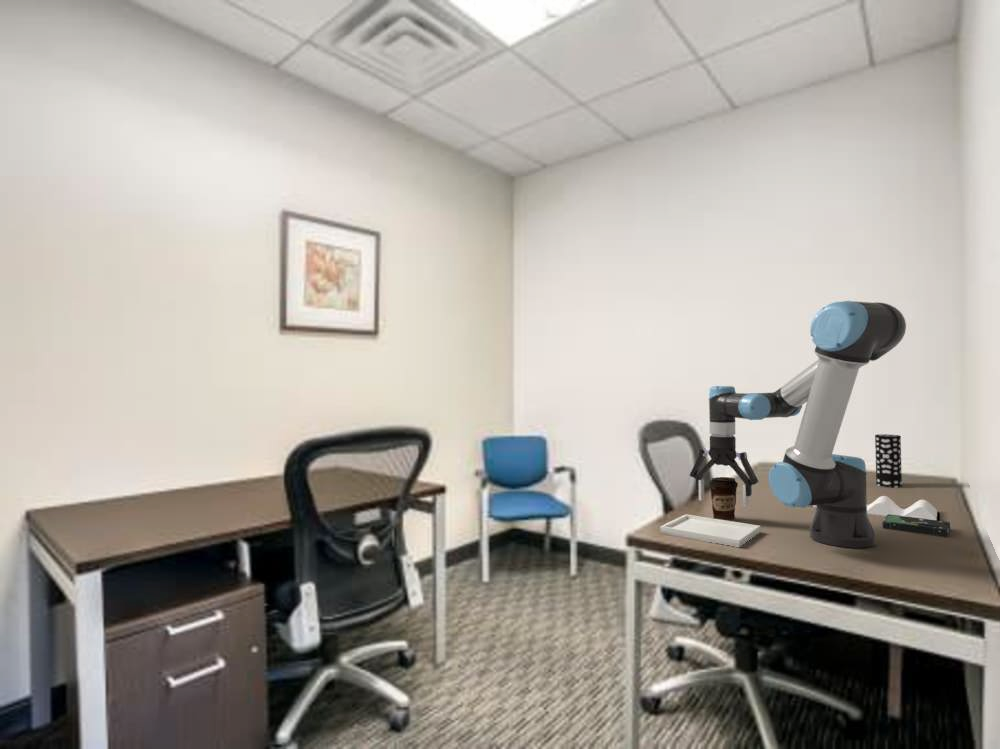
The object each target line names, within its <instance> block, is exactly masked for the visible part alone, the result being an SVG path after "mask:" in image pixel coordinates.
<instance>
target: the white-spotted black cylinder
mask: <svg viewBox="0 0 1000 749" xmlns="http://www.w3.org/2000/svg"><path fill="white" fill-rule="evenodd" d="M874 435H875V436H874V444H875V445H874V450H875V481H876V483H875V485H877V486H878V487H882V488H883V487H884V488H891V489H892V488H894V489H896V488H902V487H903V485H902V484H903V478H902V476H903V475H902V474H903V473H902V444H901V442H902V438H901V435H900V434H898V435H897V434H888V433H887V434H883V433H881V434H874Z"/></svg>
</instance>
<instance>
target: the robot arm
mask: <svg viewBox="0 0 1000 749" xmlns="http://www.w3.org/2000/svg"><path fill="white" fill-rule="evenodd" d="M906 330H907V323H906V319H905V316H904V315H903V313H902V312H901V311H900V310H899V309H898V308H896V307H895V306H893V305H891V304H889V303H886V302H871V301H870V302H869V301H868V302H867V301H855V300H854V301H852V300H851V301H850V300H844V301H835V302H831V303H829V304H827V305H825V306H824V307H822V308H820V310H818V312H817V313H816V314H815V316H814V317H813V319H812V321H811V325H810V330H809V332H810V337H811V338H812V340H811V341H812V342H813V344H814V345H815V348H814V353H815V355H816V356H817V358H818V359H817V360H816V361H814V362H813V363H812V364H810V365H809V366H807V367H806V368H805V369H804V370H802V371H801V372H800V373H798V374H796V376H794V377H793V378H791V379H790V380H789V381H788V382H787V383H785V384H784V385H782V386H781V387H780V388H778V389H777V390H775V391H773V392H754V393H748V392H747V393H743V392H742V393H741V392H740V393H739V392H736V388H735V387H734V386H732V385H717V386H716V385H714V386H711V387H710V388H709V393H708V394H709V395H708V397H709V398H708V401H709V402H708V403H709V407H708V408H709V411H708V412H709V434H710V436H709V450H708V449H706V448H700V450H699V453H698V457H697V459H696V461H695V463H694V464H693V467H692V470H690V472H689V473H690V474H689V477H690V478H694V479H695V489H696V490H698V501H700V502H701V501H704V500H705V478H703V477H704V476H705V475H706V474H707V472H708V471H710V469H711V468H712V467H713V466H714V465H716V466H724V467H727V466H729V467H730V468H731V469H732V470H733V471H734V472H735V474H737V476H738V477H739V478H740V480H741V481H742V482H743V483H744V484H743V485H742V508H747V507H749V497H752V493H753V492H752V489H753V485H756V484H758V483H759V479H758V478H757V475H756V474H755V471H754V470H753V468H752V466H751V464H750V462H749V459H748V454H747V452H745V451H743V452H737V450H736V448H737V446H736V445H737V444H736V442H737V441H736V440H737V438H736V436H735V435H736V418H737V419H743V420H749V421H761V420H764V419H767V418H768V419H769V418H789V417H795V416H797V415H799V413H800V412H801V410H802V408H803V405H804V404H805V408H804V411H803V416H802V419H801V422H800V424H799V425H800V426H799V429H798V432H797V434H796V438H795V441H794V444H793V446H791V447H788V448H787V449H786V450H785V452H784V456H783V460H782V462H780V461H779V462H778V463H776V464H774V465H773V466H772V467H771V468H770V469H769V472H768V484H769V487H770V489H771V490H772V493H773V495H774V497H775V498H776V499H777V500H778V502H780V503H782V504H783V505H785V506H787V507H790V508H802V509H803V508H806V507H809V506H813V505H817V508H816V510H815V511H814V512H815V513H814V515H813V518H812V521H811V523H810V527H809V537H810V538H811V540H814V541H817V542H818V543H823V544H824V545H830V546H835V547H842V548H849V549H850V548H853V549H862V548H863V549H865V548H871V547H874V546H875V545H876V544H877V543H876V542H877V541H876V540H877V539H876V533H875V531H874V529H873V526H872V523H871V521H870V520H871V519H870V518H869V516H868V515H869V514H867V505H868V503H867V494H868V493H867V474H868V471H867V468H866V462H865V460H864V459H863V458H861V457H858V456H851V455H850V456H849V455H845V454H843V455H842V454H833V452H834V450H835V449H834V448H835V445H836V443H837V440H838V439H837V438H838V436H839V433H840V429H841V427H842V424H843V421H844V416H845V414H846V412H847V408H848V405H849V402H850V399H851V395H852V393H853V388H854V386H855V382H856V381H857V380H856V379H857V376H858V374H859V370H860V369H861V367H864V366H865V365H868V364H869V363H870V362H875V361H877V360H879V359H880V358H882V357H883V356H884V355H886V354H888V353H889V352H891V350H893V349H894V348H896V346H898V344H900V343H901V342H902V340H903V338H904V336H905V334H906ZM707 456H709V457H710V460H709V461H708V462H707V463H706V464H705V466H703V468H701V466H702V464H703V462H704V460H705V459H706V457H707ZM736 458H738V460H739V461H740V462H741V465H742V467H743V468H744V470H743V469H742V468H741V467H740V465H739V464H738V462H737V461H736ZM700 469H701V470H700ZM699 470H700V471H699ZM744 471H745V472H746V473H745V472H744Z"/></svg>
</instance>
